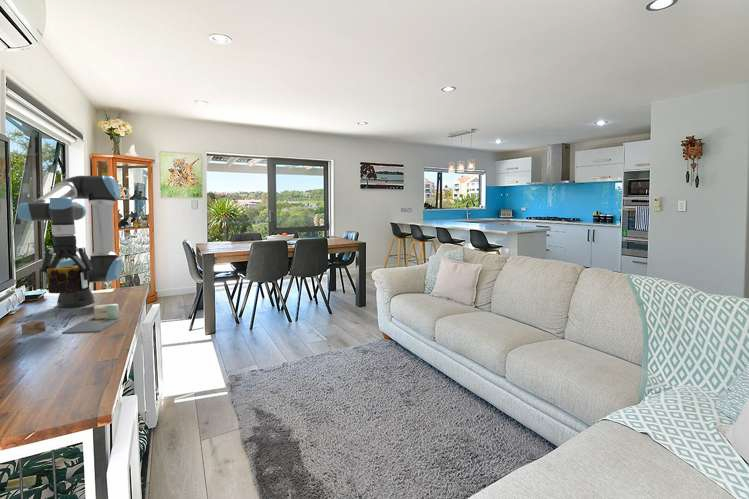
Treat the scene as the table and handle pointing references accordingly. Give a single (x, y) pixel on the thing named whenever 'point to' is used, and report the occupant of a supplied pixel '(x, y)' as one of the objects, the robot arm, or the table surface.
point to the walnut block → (33, 327)
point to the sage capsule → (112, 311)
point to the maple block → (100, 311)
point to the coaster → (90, 326)
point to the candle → (65, 280)
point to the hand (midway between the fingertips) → (69, 288)
